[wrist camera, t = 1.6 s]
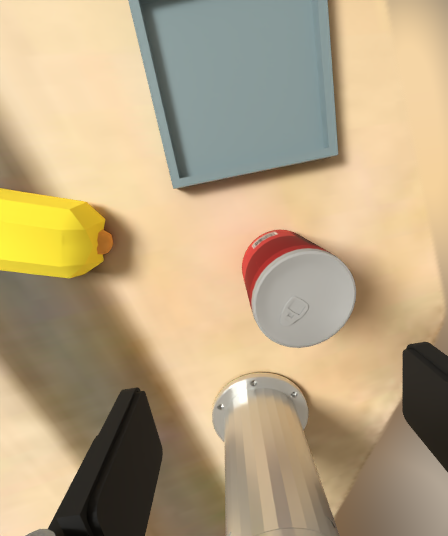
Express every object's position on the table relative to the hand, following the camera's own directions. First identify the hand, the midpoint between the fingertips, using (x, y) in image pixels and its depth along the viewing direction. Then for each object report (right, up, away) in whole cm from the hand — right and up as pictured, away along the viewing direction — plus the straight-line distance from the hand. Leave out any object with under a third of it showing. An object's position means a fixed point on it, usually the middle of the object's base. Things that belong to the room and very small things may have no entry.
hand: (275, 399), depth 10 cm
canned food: (+4, +5, +21) cm, 22 cm away
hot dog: (-22, +9, +20) cm, 31 cm away
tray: (0, +22, +16) cm, 27 cm away
